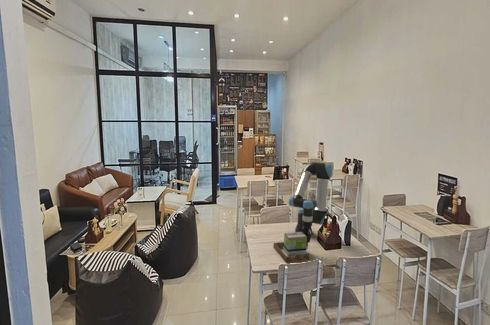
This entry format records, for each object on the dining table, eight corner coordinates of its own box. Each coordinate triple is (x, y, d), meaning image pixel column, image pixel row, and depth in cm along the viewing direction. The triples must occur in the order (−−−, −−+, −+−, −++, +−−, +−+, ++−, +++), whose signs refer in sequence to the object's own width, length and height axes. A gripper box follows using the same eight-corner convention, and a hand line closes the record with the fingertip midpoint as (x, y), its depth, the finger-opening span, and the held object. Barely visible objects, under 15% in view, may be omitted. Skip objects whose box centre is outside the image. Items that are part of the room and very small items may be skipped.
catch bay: (294, 245, 235) (294, 240, 235) (309, 259, 212) (309, 254, 211) (273, 247, 230) (273, 242, 230) (285, 262, 207) (285, 257, 206)
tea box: (288, 256, 216) (288, 237, 214) (283, 250, 226) (283, 232, 223) (306, 254, 220) (307, 236, 217) (300, 248, 229) (301, 231, 227)
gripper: (299, 218, 226) (297, 246, 229) (306, 224, 213) (305, 253, 217) (307, 217, 228) (306, 245, 231) (316, 223, 215) (314, 252, 219)
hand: (305, 249), depth 224 cm, fingers closed
